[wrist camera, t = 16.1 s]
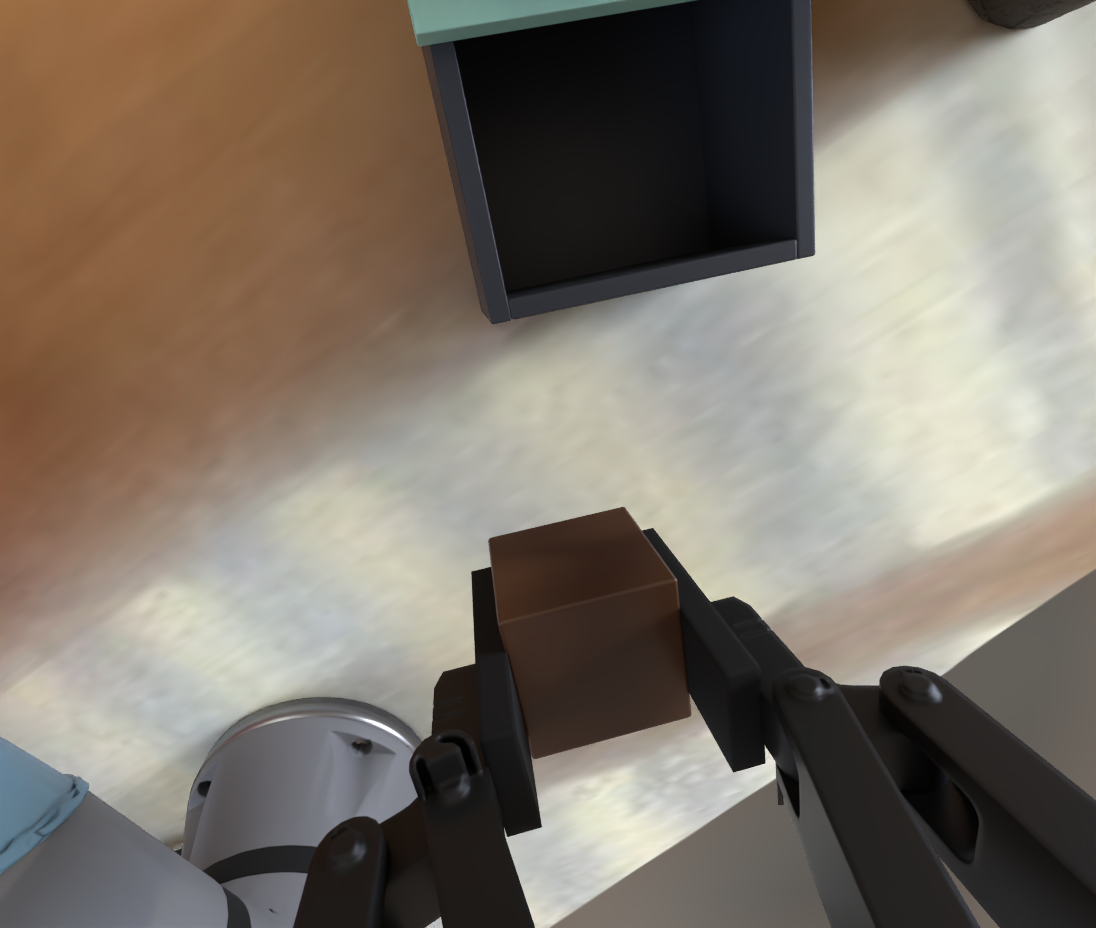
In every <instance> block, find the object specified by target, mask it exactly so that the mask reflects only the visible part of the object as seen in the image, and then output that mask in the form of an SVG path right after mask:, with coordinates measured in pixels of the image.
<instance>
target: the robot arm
mask: <svg viewBox="0 0 1096 928" xmlns="http://www.w3.org/2000/svg"><path fill="white" fill-rule="evenodd" d="M642 532H643V533H644V535H645V536H646V537H647V539H648V540H649V541H650V543H651V544H652V546H653V547H654V548H655V550H656V551H657V553H658V554H659V555H660V557H661V558H662V559H663V561H664V562H665V564H666V565H667V566H668V568H669V569H670V571H671V572H672V573H673V575H674V576H675V577H676V579H677V584H678V593H679V603H680V614H681V623H682V632H683V642H684V651H685V660H686V669H687V679H688V688H689V693H690V695H691V697H692V699H693V701H694V702H695V704H696V706H697V708H698V710H699V711H700V713H701V715H702V717H703V719H704V720H705V722H706V724H707V726H708V728H709V729H710V731H711V733H712V735H713V737H714V738H715V740H716V742H717V744H718V746H719V747H720V749H721V751H722V753H723V755H724V756H725V758H726V760H727V762H728V764H729V765H730V767H731V769H732V771H733V772H737V771H740V770H744V769H747V768H751V767H754V766H758V765H761V764H765V746H766V748H767V749H768V751H769V752H770V754H771V755H772V757H773V758H774V760H775V761H776V783H777V799H778V805H783V804H784V802H783V797H784V800H785V803H786V805H787V807H788V811H789V813H790V816H791V819H792V822H793V824H794V827H795V829H796V832H797V835H798V838H799V841H800V843H801V846H802V849H803V851H804V854H805V857H806V860H807V862H808V865H809V868H810V870H811V873H812V876H813V879H814V881H815V884H816V887H817V889H818V892H819V895H820V898H821V900H822V903H823V906H824V909H825V911H826V914H827V917H828V919H829V922H830V925H831V927H832V928H980V926H979V925H978V923H977V921H976V919H975V918H974V916H973V914H972V913H971V911H970V909H969V907H968V906H967V904H966V903H965V901H964V899H963V897H962V896H961V894H960V892H959V890H958V889H957V887H956V885H955V884H954V882H953V880H952V879H951V877H950V875H949V874H948V872H947V870H946V868H945V867H944V865H943V864H942V862H941V860H940V858H941V859H942V860H943V862H945V864H946V865H947V866H948V867H949V868H950V870H951V871H952V872H953V873H954V874H955V876H956V877H957V878H958V879H959V880H960V881H961V883H962V884H963V885H964V886H965V887H966V889H967V890H968V891H969V892H970V893H971V894H972V895H973V897H974V898H975V899H976V900H977V901H978V903H979V904H980V905H981V906H982V907H983V908H984V910H985V911H986V912H987V913H988V914H989V915H990V917H991V918H992V919H993V920H994V921H995V922H996V924H997V925H998V926H999V927H1000V928H1096V800H1095V799H1093V798H1092V797H1091V796H1090V795H1088V794H1087V793H1086V792H1085V791H1083V790H1082V789H1081V788H1079V787H1078V786H1077V785H1076V784H1075V783H1073V782H1072V781H1071V780H1070V779H1068V778H1067V777H1066V776H1065V775H1063V774H1062V773H1061V772H1059V770H1057V769H1056V768H1055V767H1054V766H1052V765H1051V764H1050V763H1049V762H1047V761H1046V760H1045V759H1044V758H1042V757H1041V756H1040V755H1039V754H1037V753H1036V752H1035V751H1034V750H1032V749H1031V748H1030V747H1029V746H1027V745H1026V744H1025V743H1024V742H1022V741H1021V740H1020V739H1019V738H1017V737H1016V736H1015V735H1014V734H1012V733H1011V732H1010V731H1009V730H1007V729H1006V728H1005V727H1004V726H1003V725H1001V724H1000V723H999V722H998V721H996V720H995V719H994V718H992V717H991V716H990V715H989V714H988V713H986V712H985V711H984V710H983V709H981V708H980V707H979V706H977V705H976V704H975V703H974V702H973V701H971V700H970V699H969V698H968V697H966V696H965V695H964V694H963V693H962V692H960V691H959V690H958V689H956V688H955V687H954V686H953V685H951V684H950V683H949V682H948V681H947V680H945V679H943V678H942V677H940V676H938V675H937V674H935V673H933V672H931V671H928V670H925V669H922V668H919V667H911V666H899V667H892V668H890V669H888V670H886V671H885V672H883V674H882V676H881V678H880V681H879V686H853V685H840V684H836V683H835V682H834V681H833V680H832V679H831V678H830V677H828V676H827V675H825V674H823V673H822V672H820V671H817V670H814V669H810V668H806V667H804V665H803V664H802V663H801V662H800V661H799V660H798V659H797V658H796V656H795V655H794V654H793V653H792V652H791V651H790V650H789V649H788V647H787V646H786V645H785V644H784V643H783V642H782V641H781V640H780V638H779V637H778V636H777V635H776V634H775V633H774V632H773V631H771V629H770V627H769V626H768V625H767V624H766V623H765V622H764V620H762V619H761V617H760V616H759V615H758V614H757V613H756V611H755V610H754V609H753V608H752V607H751V606H750V605H748V604H747V603H745V602H743V601H741V600H739V599H737V598H735V597H734V596H733V597H729V598H725V599H721V600H717V601H714V602H710V601H709V600H708V598H707V597H706V596H705V595H704V593H703V592H702V591H701V589H700V588H699V587H698V586H697V584H696V583H695V582H694V580H693V579H692V578H691V576H690V575H689V574H688V573H687V571H686V570H685V569H684V567H683V566H682V565H681V564H680V562H679V561H678V560H677V558H676V557H675V556H674V555H673V553H672V552H671V551H670V549H669V548H668V547H667V546H666V544H665V543H664V542H663V540H662V539H661V538H660V537H659V535H658V534H657V533H656V531H655V530H654V529H653V528H651V529H647V530H643V531H642ZM471 574H472V596H473V618H474V641H475V663H476V664H472V665H468V666H464V667H460V668H456V669H452V670H449V671H445V672H443V673H442V675H441V677H440V678H439V680H438V682H437V684H436V686H435V688H434V702H433V705H434V708H433V721H432V735H431V736H430V737H428V738H426V739H425V740H424V741H423V742H422V741H421V740H420V738H419V737H418V736H417V735H416V733H415V732H414V731H413V730H412V729H411V728H410V727H409V726H407V725H406V724H405V723H404V722H403V721H401V720H400V719H398V718H397V717H395V716H394V715H392V714H390V713H388V712H386V711H384V710H382V709H380V708H377V707H375V706H372V705H369V704H366V703H362V702H358V701H354V700H348V699H342V698H330V697H315V698H303V699H296V700H291V701H286V702H282V703H278V704H275V705H272V706H269V707H266V708H264V709H261V710H259V711H257V712H255V713H253V714H251V715H249V716H247V717H246V718H244V719H242V720H241V721H239V722H238V723H236V724H235V725H234V726H232V727H231V728H230V729H229V730H228V731H226V732H225V733H224V734H223V735H222V736H221V737H220V738H219V740H218V741H217V742H216V743H215V744H214V746H213V747H212V749H211V750H210V752H209V754H208V756H207V758H206V759H205V761H204V763H203V765H202V767H201V769H200V771H199V773H198V775H197V777H196V779H195V780H194V783H193V786H192V788H191V792H190V797H189V802H188V807H187V814H186V822H185V830H184V838H183V846H182V849H179V850H176V851H173V850H172V849H170V848H169V847H167V846H166V845H165V844H163V843H162V842H160V841H159V840H157V839H156V838H155V837H153V836H152V835H150V834H149V833H148V832H146V831H145V830H143V829H142V828H140V827H139V826H138V825H136V824H135V823H133V822H132V821H131V820H129V819H128V818H126V817H125V816H124V815H122V814H121V813H119V812H118V811H116V810H115V809H114V808H112V807H111V806H109V805H108V804H107V803H105V802H104V801H102V800H101V799H99V798H98V797H97V796H95V795H94V794H92V793H91V792H90V791H88V789H89V783H87V782H86V781H84V780H83V779H82V778H81V777H75V776H74V775H71V774H62V773H60V772H59V771H57V770H55V769H54V768H52V767H50V766H49V765H47V764H45V763H44V762H42V761H40V760H39V759H37V758H35V757H34V756H32V755H31V754H29V753H27V752H26V751H24V750H22V749H21V748H19V747H17V746H16V745H14V744H12V743H11V742H9V741H7V740H6V739H4V738H1V737H0V928H425V927H427V926H428V925H429V924H431V923H432V922H434V921H435V920H437V919H438V918H439V917H441V919H442V925H443V928H535V926H534V923H533V920H532V917H531V914H530V911H529V908H528V905H527V902H526V899H525V896H524V893H523V890H522V887H521V884H520V881H519V878H518V875H517V872H516V869H515V866H514V863H513V860H512V857H511V854H510V850H509V847H508V844H507V841H506V838H505V832H504V828H505V831H506V834H507V837H509V836H512V835H516V834H519V833H523V832H526V831H530V830H534V829H537V828H541V827H542V825H541V819H540V812H539V805H538V799H537V792H536V786H535V779H534V773H533V766H532V759H531V753H530V746H529V740H528V734H527V731H526V727H525V723H524V719H523V715H522V711H521V707H520V703H519V699H518V695H517V691H516V688H515V684H514V680H513V676H512V672H511V668H510V664H509V660H508V656H507V652H505V651H504V647H503V643H502V639H501V635H500V631H499V627H498V622H497V613H496V604H495V595H494V587H493V578H492V569H491V567H489V568H485V569H480V570H476V571H472V572H471ZM937 854H938V855H937ZM939 857H940V858H939Z"/></svg>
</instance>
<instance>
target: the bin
mask: <svg viewBox="0 0 1096 928" xmlns="http://www.w3.org/2000/svg"><path fill="white" fill-rule="evenodd" d="M422 50H423V55H424V59H425V63H426V68H427V72H428V77H429V81H430V85H431V90H432V94H433V99H434V103H435V107H436V112H437V116H438V121H439V125H440V129H441V134H442V138H443V143H444V147H445V151H446V156H447V160H448V165H449V169H450V173H451V178H452V182H453V187H454V191H455V195H456V200H457V204H458V209H459V213H460V217H461V222H462V226H463V231H464V235H465V239H466V244H467V248H468V253H469V257H470V261H471V266H472V270H473V275H474V279H475V283H476V288H477V292H478V297H479V301H480V305H481V310H482V312H483V313H484V314H485V316H486V317H487V318H488V319H489V321H490V322H491V323H492V324H497V323H501V322H506V321H510V320H511V319H513V320H515V319H519V318H524V317H529V316H534V315H538V314H543V313H548V312H552V311H557V310H562V309H566V308H571V307H576V306H580V305H585V304H590V303H594V302H599V301H604V300H608V299H613V298H618V297H622V296H627V295H632V294H637V293H641V292H646V291H651V290H655V289H660V288H665V287H669V286H674V285H679V284H683V283H688V282H693V281H697V280H702V279H707V278H711V277H716V276H721V275H726V274H730V273H735V272H740V271H744V270H749V269H754V268H758V267H763V266H768V265H772V264H777V263H782V262H786V261H791V260H795V259H800V258H805V257H810V256H813V255H815V214H814V145H813V75H812V6H811V0H696V1H690V2H684V3H678V4H672V5H666V6H660V7H654V8H648V9H642V10H636V11H630V12H624V13H618V14H612V15H606V16H600V17H594V18H588V19H582V20H576V21H570V22H564V23H558V24H552V25H546V26H540V27H534V28H528V29H522V30H516V31H510V32H504V33H498V34H492V35H486V36H480V37H474V38H468V39H462V40H456V41H450V42H444V43H438V44H432V45H426V46H422Z"/></svg>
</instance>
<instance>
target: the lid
mask: <svg viewBox="0 0 1096 928" xmlns="http://www.w3.org/2000/svg"><path fill="white" fill-rule="evenodd" d="M690 1H696V0H407V3H408V8H409V12H410V17H411V21H412V25H413V30H414V34H415V38H416V43H417V46H419V47H420V46H426V45H432V44H438V43H444V42H450V41H456V40H462V39H468V38H474V37H480V36H486V35H492V34H498V33H504V32H510V31H516V30H522V29H528V28H534V27H540V26H546V25H552V24H558V23H564V22H570V21H576V20H582V19H588V18H594V17H600V16H606V15H612V14H618V13H624V12H630V11H636V10H642V9H648V8H654V7H660V6H666V5H672V4H678V3H684V2H690Z"/></svg>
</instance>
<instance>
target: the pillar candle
mask: <svg viewBox="0 0 1096 928" xmlns="http://www.w3.org/2000/svg"><path fill="white" fill-rule="evenodd" d="M970 1H971V2H972V3H971V4H973V7H974V9H975V10H976V11H977V12H978V13H979V15H980V16H981V17H982V18H983V19H984V20H986V21H988V22H992V23H994V24H997V25H1001V26H1004V27H1006V28H1008V29H1026V28H1032V27H1036V26H1039V25H1042V24H1044V23H1047V22H1049V21H1051V20H1054V19H1056V18H1058V17H1060V16H1062V15H1064V14H1066V13H1069V12H1071V11H1074V10H1076V9H1079V8H1081V7H1083V6H1085V5H1088V4H1090V3H1092V2H1094V1H1096V0H970Z"/></svg>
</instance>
